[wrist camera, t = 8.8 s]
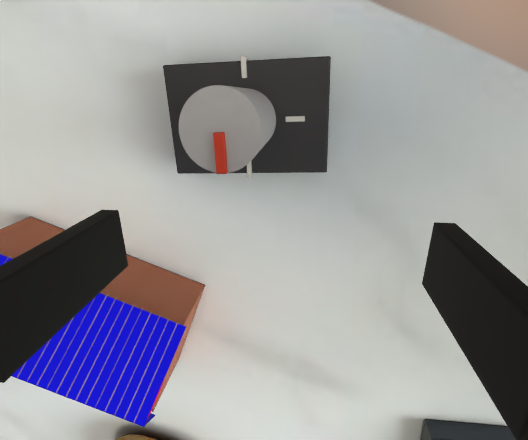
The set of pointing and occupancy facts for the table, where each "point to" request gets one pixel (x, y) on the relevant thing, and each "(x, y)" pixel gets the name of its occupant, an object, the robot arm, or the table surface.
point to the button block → (464, 431)
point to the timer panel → (282, 98)
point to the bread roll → (135, 437)
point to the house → (112, 334)
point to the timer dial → (225, 127)
